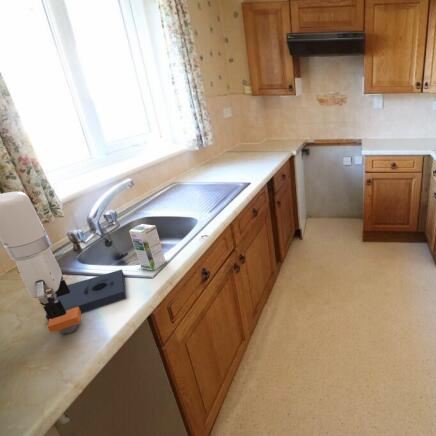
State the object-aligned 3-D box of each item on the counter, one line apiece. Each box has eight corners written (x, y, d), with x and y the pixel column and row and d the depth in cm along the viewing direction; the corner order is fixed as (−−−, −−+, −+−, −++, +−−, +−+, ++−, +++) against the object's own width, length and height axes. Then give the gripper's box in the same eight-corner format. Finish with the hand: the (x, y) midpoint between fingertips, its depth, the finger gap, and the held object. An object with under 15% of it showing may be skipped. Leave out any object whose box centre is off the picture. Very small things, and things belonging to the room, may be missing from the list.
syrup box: (140, 269, 108) (127, 230, 102) (153, 259, 113) (142, 222, 107) (154, 271, 107) (141, 232, 101) (167, 261, 112) (155, 224, 106)
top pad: (54, 340, 80) (47, 327, 78) (56, 328, 84) (50, 315, 82) (83, 330, 83) (77, 317, 81) (84, 319, 87) (78, 306, 85)
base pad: (49, 323, 86) (45, 316, 85) (55, 295, 97) (52, 289, 96) (126, 298, 94) (123, 291, 93) (124, 275, 105) (121, 269, 104)
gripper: (16, 236, 78) (47, 292, 86) (-3, 269, 65) (36, 332, 72) (54, 227, 82) (81, 282, 89) (44, 256, 68) (76, 318, 75)
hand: (60, 304), depth 80 cm, fingers open, 9 cm apart
